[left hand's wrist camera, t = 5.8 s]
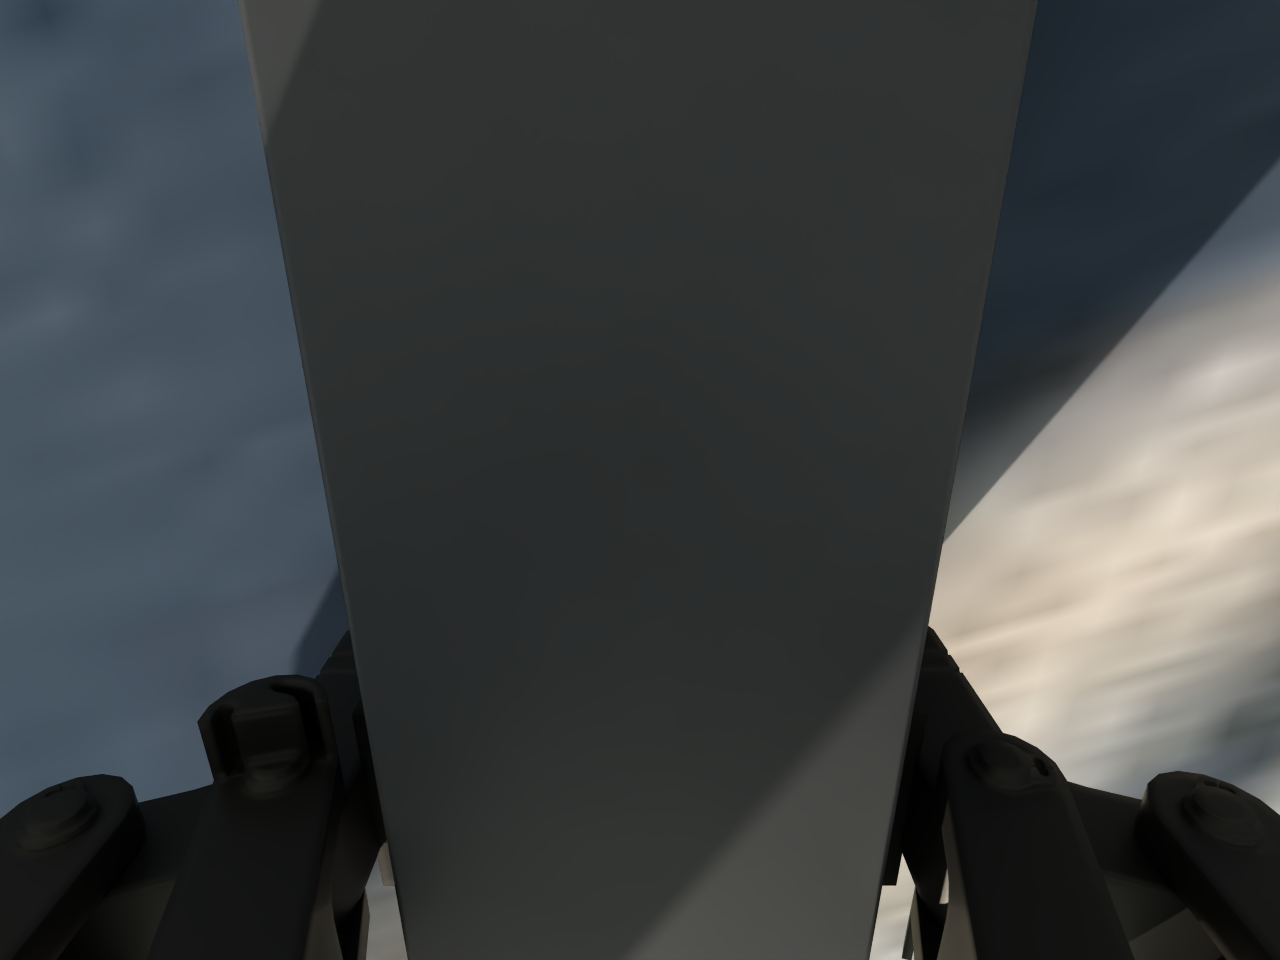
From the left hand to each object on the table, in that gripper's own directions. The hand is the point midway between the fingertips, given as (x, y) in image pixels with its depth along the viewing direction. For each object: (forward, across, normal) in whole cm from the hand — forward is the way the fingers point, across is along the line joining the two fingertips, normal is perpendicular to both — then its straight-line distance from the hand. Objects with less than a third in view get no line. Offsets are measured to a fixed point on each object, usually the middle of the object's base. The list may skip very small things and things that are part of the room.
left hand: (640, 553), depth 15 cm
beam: (+1, 0, -22) cm, 22 cm away
